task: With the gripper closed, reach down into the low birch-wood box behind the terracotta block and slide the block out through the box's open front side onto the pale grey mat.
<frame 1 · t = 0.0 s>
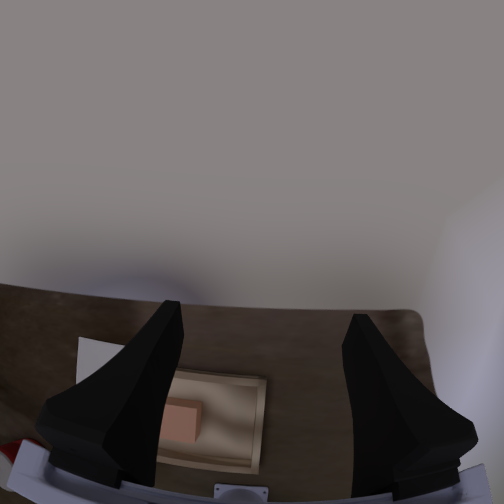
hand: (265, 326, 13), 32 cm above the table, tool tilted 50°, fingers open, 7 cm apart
block: (184, 415, 40), point 1 cm above the table, touching open box
canned food: (36, 455, 37), on the table
open box: (205, 417, 40), on the table
mat: (115, 401, 41), on the table
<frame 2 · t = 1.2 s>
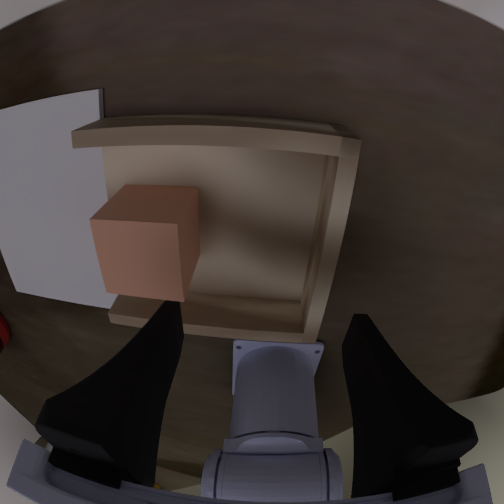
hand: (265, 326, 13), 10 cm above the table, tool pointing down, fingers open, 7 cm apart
block: (162, 220, 21), point 1 cm above the table, touching open box
open box: (208, 218, 21), on the table
planter bowl: (77, 434, 49), on the table
mat: (42, 211, 21), on the table
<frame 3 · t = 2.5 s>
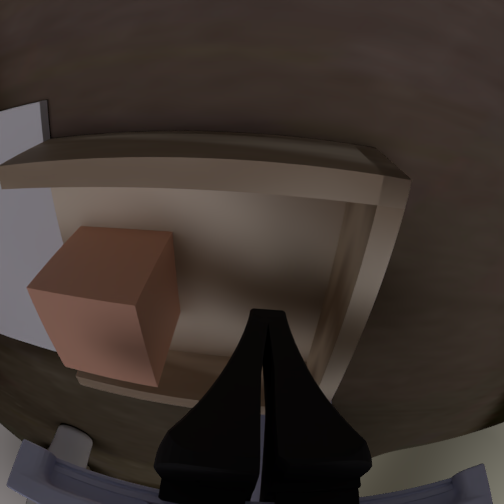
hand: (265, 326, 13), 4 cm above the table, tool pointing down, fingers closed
drinking glass: (77, 431, 33), on the table
block: (130, 271, 15), point 1 cm above the table, touching open box
open box: (188, 269, 16), on the table
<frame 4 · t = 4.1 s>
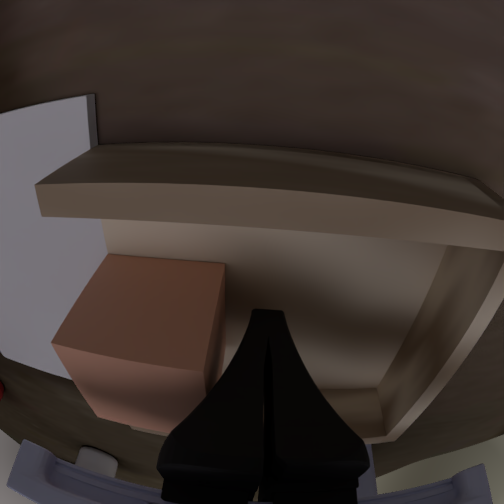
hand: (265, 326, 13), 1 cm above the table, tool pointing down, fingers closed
drinking glass: (100, 452, 31), on the table
block: (169, 305, 14), point 1 cm above the table, touching gripper
open box: (271, 304, 14), on the table
mat: (20, 275, 14), on the table
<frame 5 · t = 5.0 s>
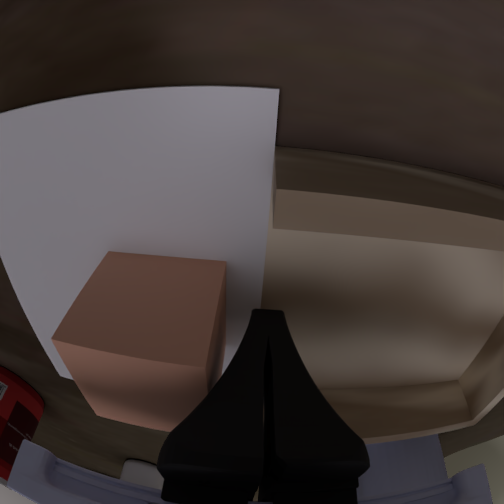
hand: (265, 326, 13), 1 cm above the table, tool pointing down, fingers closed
drinking glass: (145, 464, 31), on the table
block: (169, 303, 14), point 1 cm above the table, touching gripper
canned food: (16, 384, 23), on the table
open box: (403, 309, 14), on the table
mat: (114, 289, 14), on the table
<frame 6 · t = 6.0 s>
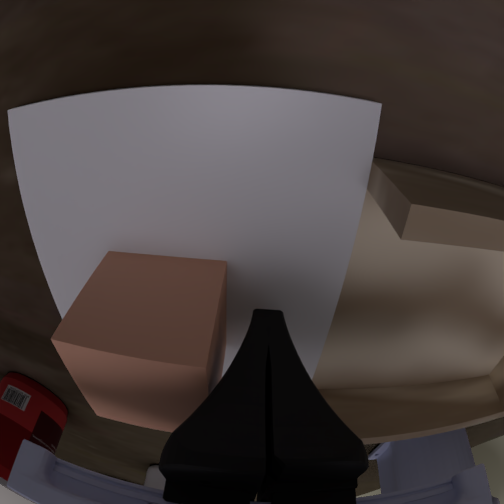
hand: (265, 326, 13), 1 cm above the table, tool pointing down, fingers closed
drinking glass: (169, 469, 31), on the table
block: (170, 302, 14), point 1 cm above the table, touching gripper, mat
canned food: (37, 393, 23), on the table
open box: (453, 310, 14), on the table
mat: (177, 295, 14), on the table
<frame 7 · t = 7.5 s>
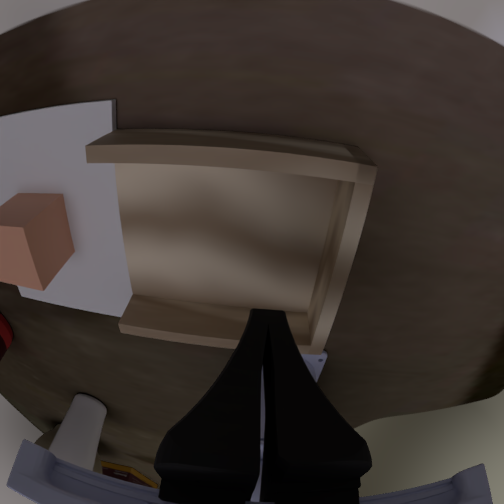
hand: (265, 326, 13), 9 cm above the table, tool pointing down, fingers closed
drinking glass: (92, 400, 38), on the table
block: (45, 222, 21), point 1 cm above the table, touching mat
supplement box: (129, 472, 62), on the table
open box: (220, 233, 21), on the table
planter bowl: (77, 433, 49), on the table
mat: (50, 219, 21), on the table
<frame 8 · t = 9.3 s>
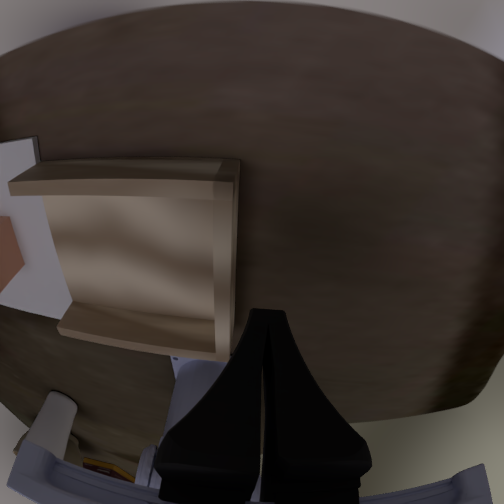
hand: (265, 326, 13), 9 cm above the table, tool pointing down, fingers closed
drinking glass: (64, 398, 39), on the table
block: (0, 239, 22), point 1 cm above the table, touching mat
supplement box: (113, 470, 63), on the table
open box: (130, 247, 22), on the table
planter bowl: (60, 430, 50), on the table
mat: (5, 237, 23), on the table
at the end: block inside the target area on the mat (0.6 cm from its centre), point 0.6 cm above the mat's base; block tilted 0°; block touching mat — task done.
